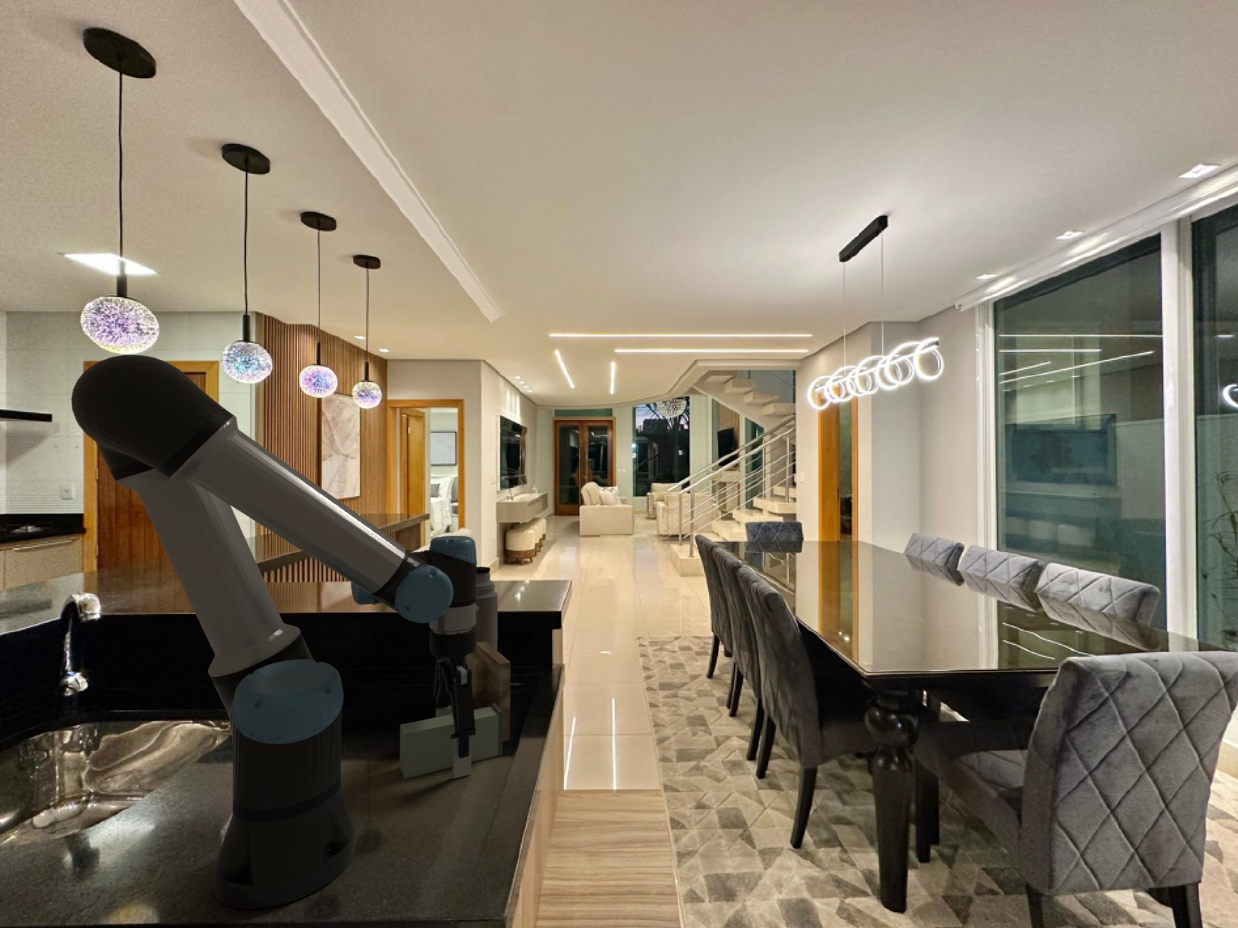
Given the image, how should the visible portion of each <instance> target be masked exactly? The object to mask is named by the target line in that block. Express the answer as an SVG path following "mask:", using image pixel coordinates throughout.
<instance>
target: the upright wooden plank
mask: <svg viewBox="0 0 1238 928" xmlns="http://www.w3.org/2000/svg"><path fill="white" fill-rule="evenodd" d="M466 663H467V666H468V669H471V671H472V695H473V707H474V710H475V709H480V708H485V707H490V706H491V703H495V704H496V705H497V706H498V707H499V708H500V709H501V710H502V711H503V742H506V741H510V740H511V661H510V660H508V659H507V658H506V657H505V656H504V655H502V654H501V653H500V652H499V651H498V649H497V650H495V649H494V648H493V647H492V646H491V645H489V644H488V643H487V642H486V641H484V642H477V643H476V653H470V654H468V655H466ZM449 706H451V705H448V707H449Z"/></svg>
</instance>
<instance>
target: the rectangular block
mask: <svg viewBox="0 0 1238 928" xmlns="http://www.w3.org/2000/svg"><path fill="white" fill-rule="evenodd" d="M474 719H475V729H476V734H475V735H472V736H471V763H474V762H478V761H481V760H486V759H490V758H493V757H497V756H503V751H504V750H503V745H504V744H503V743H504V741H503V711H502V710H501V709H500V708H499V707H498V706H497V705H496V704H495V703H491V706H490V707H485V708H480V709H475V710H474ZM452 734H455V729H454V722H453V714H451V715H446V716H441V717H436V716H435V717H432V718H428V719H421V720H418V721H412V722H411V721H410V722H407V723H402V724H399V769H400V772H401V775H402V777H403V779H404V780H406V779H410V778H414V777H418V776H421V775H426V774H430V773H434V772H438V771H441V770H445V769H449V768H453V739H451V737H450V736H451V735H452Z"/></svg>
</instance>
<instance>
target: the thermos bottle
mask: <svg viewBox="0 0 1238 928" xmlns="http://www.w3.org/2000/svg"><path fill="white" fill-rule="evenodd" d="M490 573H491V567H489V566H477V567H476V606H478V607H479V610H478V611H477V612H476V624H475V625H474V626H473V627H474V628H475V629H476V643H477V642H484V641H486V642H487V643H488V644H489V645H491V646H492V647H493V648H494V649H495V650H497V651H498V608H499V607H498V600H499V599H498V598H499V597H498V592H496V591H495V588H496V586H495V582H494V581H493V580H491V574H490ZM472 653H476V649H475V650H474V651H473V652H472ZM464 660H465V663H466V656H465V658H464Z"/></svg>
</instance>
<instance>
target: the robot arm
mask: <svg viewBox="0 0 1238 928" xmlns="http://www.w3.org/2000/svg"><path fill="white" fill-rule="evenodd" d="M70 401H71V410H72V414H73V416H74V419H75V421H76V423H77V425H78V426H79V428H80V429H81V430H82V431H83V432H84V434H85V435H87V436H88V437H89V438H90V439H92V440H93V441H94V442H95V443H96V445H97V448H98V449H99V451H100V454H101V455H102V458H103V460H104V462H105V464H106V465H107V467H108V469H109V472H110V473H111V476H112V478H113V480H114V482H115V484H117V485H120V486H123V487H125V488H127V489H131V490H133V491H134V492H136V493H137V495H138V497H139V498H140V501H141V502H142V505H143V507H144V509H145V512H146V513H147V515H148V518H149V520H150V522H151V523H152V524H151V525H152V526H153V528H154V530H155V532H156V534H157V536H158V539H159V540H160V542H161V545H162V546H163V548H164V551H165V553H166V555H167V557H168V559H169V561H170V563H171V566H172V567H173V569H174V571H175V574H176V576H177V578H178V580H179V582H180V584H181V586H182V588H183V590H184V592H185V593H184V594H186V597H187V599H188V601H189V603H190V606H191V607H192V609H193V611H194V614H195V615H196V618H197V619H198V621H199V624H200V626H201V628H202V630H203V632H204V634H205V636H206V638H207V640H208V642H209V644H210V646H211V649H212V651H213V653H214V658H213V659H212V662H211V664H210V665H209V667H208V670H207V673H208V675H209V677H210V679H211V681H212V684H213V686H214V688H215V690H216V691H217V693H218V695H219V698H220V699H221V702H222V704H223V706H224V708H225V711H226V713H227V716H228V718H229V724H230V732H231V733H230V734H231V740H232V813H231V818H230V821H229V823H228V827H227V829H226V832H225V834H224V838H223V840H222V843H221V846H220V847H219V852H218V854H217V857H216V860H215V862H214V866H213V867H214V868H213V881H212V882H213V883H212V885H213V888H212V889H213V894H214V897H216V899H217V900H218V902H220V903H222V905H225V906H227V907H230V908H233V909H237V910H259V909H260V910H261V909H262V910H263V909H268V908H273V907H276V906H277V907H278V906H282V905H285V904H288V903H292V902H294V901H297V900H299V899H302V898H304V897H306V896H307V897H308V895H311V894H313V893H315V892H316V891H318V890H320V889H322V888H324V887H325V886H326V885H328V884H330V882H332V881H334V880H335V879H336V878H337V877H338V876H340V874H341V873H342V872H344V871H345V870H346V868H347V867H348V866H349V865H350V863H351V861H352V859H354V855H355V852H356V827H355V824H354V821H353V818H352V815H351V813H350V810H349V808H348V805H347V802H346V799H345V797H344V794H343V791H342V780H341V779H342V730H343V729H342V725H343V723H342V717H343V715H342V713H343V704H344V697H345V695H344V690H343V689H344V688H343V686H342V678H341V675H340V673H339V671H338V670H337V669H336V668H335V667H334V666H333V665H331V664H329V663H326V662H323V661H319V662H318V661H317V660H315V659H314V658H313V655H312V653H311V652H310V649H309V647H308V645H307V643H306V641H305V639H304V637H303V634H302V632H301V629H300V628H299V627H298V626H294V625H290V624H287V623H284V622H283V620H282V618H281V615H280V613H279V610H278V608H277V607H276V604H275V601H274V599H273V598H272V595H271V592H270V591H269V589H268V585H267V583H266V582H265V580H264V577H263V575H262V572H261V571H260V568H259V566H258V564H257V562H256V559H255V556H254V555H253V553H252V551H251V547H250V546H249V544H248V541H247V539H246V537H245V535H244V532H243V530H242V528H241V525H240V524H239V522H238V519H237V517H236V514H235V513H234V510H233V508H234V509H235V510H237V511H238V512H240V513H242V514H243V515H245V516H246V517H248V518H250V520H251V519H252V520H253V521H255V522H256V523H257V524H259V525H261V526H262V527H263V528H265V529H267V530H268V531H270V532H271V533H273V534H274V535H276V536H278V537H279V538H281V539H283V540H284V541H286V542H287V543H289V544H290V545H292V546H293V547H295V548H297V549H298V550H299V551H301V552H302V553H304V554H306V555H308V557H311V558H313V559H314V560H316V561H317V562H319V563H320V564H322V565H323V566H325V567H326V568H328V569H330V570H332V571H333V572H334V573H336V574H338V575H339V576H340V577H342V578H344V579H346V580H347V581H348V582H350V589H351V596H352V598H353V601H354V602H355V603H356V604H357V605H359V606H362V605H365V606H366V605H373V606H376V605H378V604H384V605H386V606H387V607H388V608H390V609H391V610H392V611H395V612H396V613H398V614H399V615H400V616H401V617H402V618H404V619H406V620H407V621H409V622H414V623H418V624H426V623H427V624H428V623H429V629H431V631H430V632H429V653H430V654H431V655H432V656H434V657H435V658H436V659H435V663H436V665H435V670H434V671H435V673H434V683H433V693H432V699H433V701H434V702H435V703H434V705H435V708H436V709H435V718H436V717H441V716H446V715H451V714H453V722H454V729H455V734H452V735H451V736H450V737H451V739H453V767H452V778H453V779H457V778H462V777H465V776H469V775H472V762H471V736H472V735H475V734H476V729H475V719H474V707H473V695H472V671H471V669H468V666H467V663H465V660H464V658H465V656H466V655H468V654H470V653H472V652H473V651H474V650H475V649H476V629H475V628H474V627H473V626H474V625H475V624H476V612H477V611H478V610H479V607H478V606H476V567H478V561H477V560H478V559H477V547H476V542H475V539H473V538H472V537H470V536H467V535H443V536H437V537H433V538H431V540H430V542H429V543H430V544H429V547H428V549H424V550H421V551H412V552H411V551H410V550H408V549H407V548H405V546H404V545H402V544H401V543H399V542H398V541H396V539H393V538H392V537H391V536H389V535H388V534H387V533H385V532H384V531H382V530H381V529H380V528H378V527H376V526H375V525H374V524H372V522H370V521H368V520H367V519H365V518H364V517H363V516H361V515H360V514H358V513H357V512H355V510H353V509H351V508H350V507H349V506H348V505H345V504H344V503H343V502H342V501H340V500H338V499H337V498H336V497H335V496H333V495H332V494H330V493H329V492H327V491H326V490H324V489H323V488H322V487H320V486H319V485H317V483H314V482H313V481H312V480H311V479H310V478H308V477H306V476H305V475H303V474H302V473H300V471H298V470H296V469H295V468H293V467H292V466H291V465H290V464H288V463H286V462H285V461H284V460H282V459H281V458H280V457H278V456H276V454H274V453H272V452H271V451H269V450H268V449H267V448H266V447H264V446H263V445H261V444H260V443H258V442H257V441H256V440H254V439H253V438H252V437H249V436H248V435H247V434H246V433H244V431H241V430H240V429H239V427H238V420H237V416H236V415H235V414H233V413H232V412H230V411H229V410H227V409H226V408H225V407H224V406H222V405H221V404H219V402H217V401H215V400H214V399H213V398H212V397H211V396H210V395H208V394H207V393H206V392H205V391H204V390H203V389H201V388H200V387H199V386H198V385H197V384H196V383H195V382H194V381H193V380H192V379H191V378H190V377H188V375H186V374H185V373H184V372H183V371H182V370H180V369H179V368H178V367H176V366H174V365H173V364H171V363H170V362H168V361H164V360H162V359H160V358H157V357H154V356H148V355H141V354H121V355H115V356H111V357H108V358H105V359H103V360H100V361H98V362H96V363H95V364H94V363H93V365H90V367H88V368H87V369H86V370H84V372H83V373H82V374H81V375H80V376H79V378H78V379H77V380H76V383H75V385H74V387H73V388H72V394H71V398H70ZM448 705H451V706H449V707H448Z"/></svg>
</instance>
